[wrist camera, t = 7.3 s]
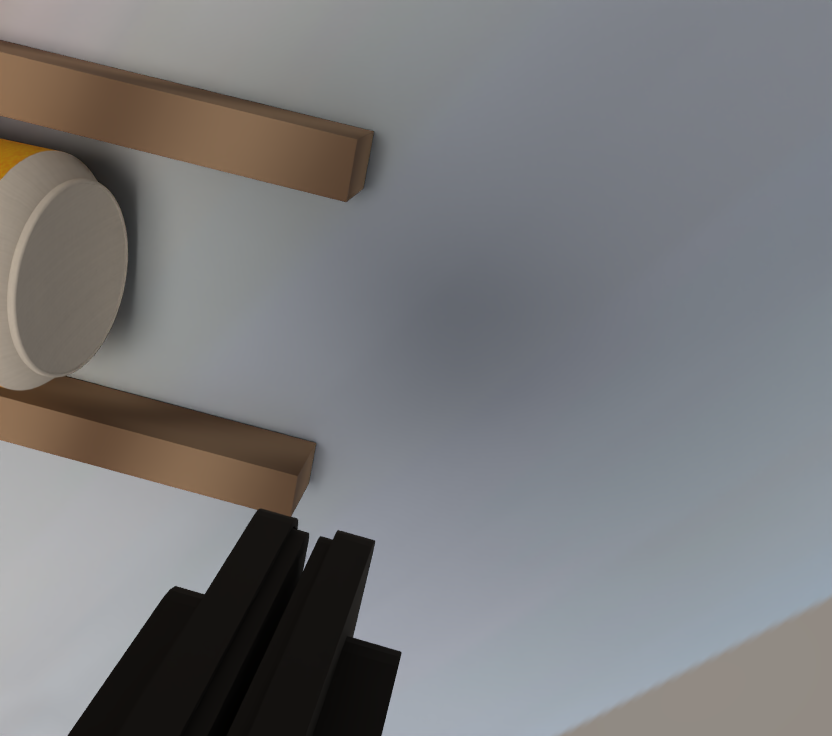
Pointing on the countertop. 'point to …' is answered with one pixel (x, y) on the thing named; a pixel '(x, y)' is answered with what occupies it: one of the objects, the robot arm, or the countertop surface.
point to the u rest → (206, 146)
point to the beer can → (55, 264)
